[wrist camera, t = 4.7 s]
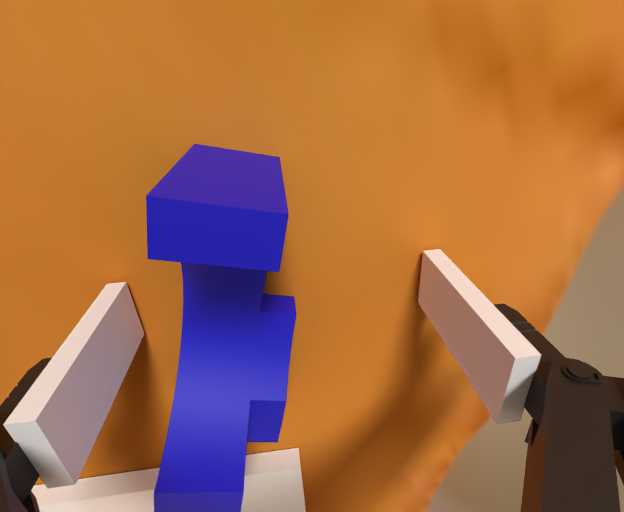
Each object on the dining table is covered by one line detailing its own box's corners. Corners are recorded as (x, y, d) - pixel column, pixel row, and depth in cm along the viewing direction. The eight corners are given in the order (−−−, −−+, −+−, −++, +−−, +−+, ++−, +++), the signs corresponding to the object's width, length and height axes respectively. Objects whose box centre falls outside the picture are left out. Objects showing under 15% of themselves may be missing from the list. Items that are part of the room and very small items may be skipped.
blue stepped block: (275, 389, 19) (280, 515, 14) (186, 386, 18) (154, 518, 13) (318, 162, 14) (352, 222, 8) (195, 143, 13) (146, 195, 7)
